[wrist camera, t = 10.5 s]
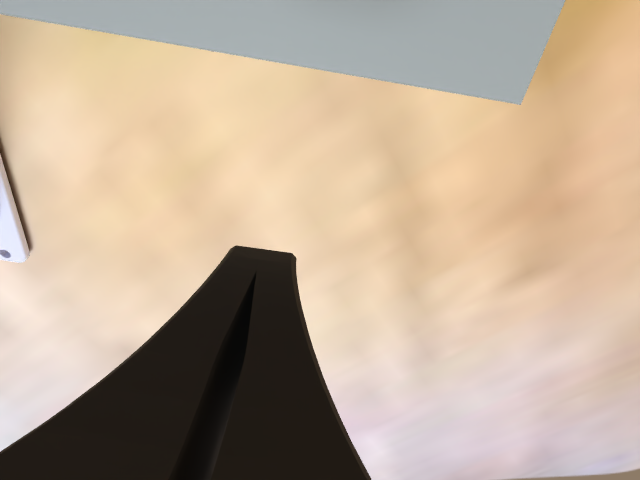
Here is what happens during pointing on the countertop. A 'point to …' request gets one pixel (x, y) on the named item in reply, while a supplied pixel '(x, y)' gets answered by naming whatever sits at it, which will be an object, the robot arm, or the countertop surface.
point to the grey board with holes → (341, 35)
